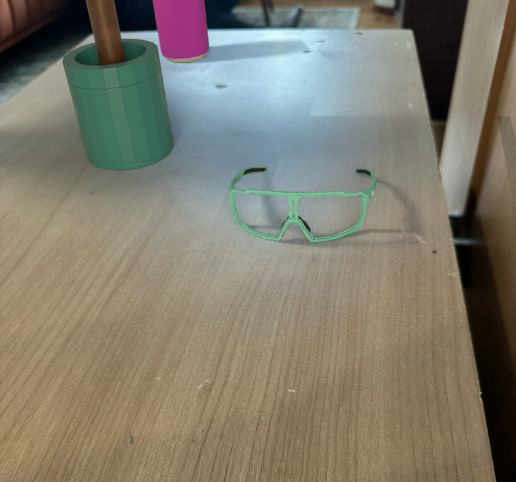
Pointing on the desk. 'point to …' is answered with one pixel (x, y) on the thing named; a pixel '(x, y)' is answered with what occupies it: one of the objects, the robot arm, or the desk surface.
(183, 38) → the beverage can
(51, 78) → the desk surface
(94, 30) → the brown wooden rod
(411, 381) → the desk surface
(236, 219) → the sunglasses
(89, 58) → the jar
